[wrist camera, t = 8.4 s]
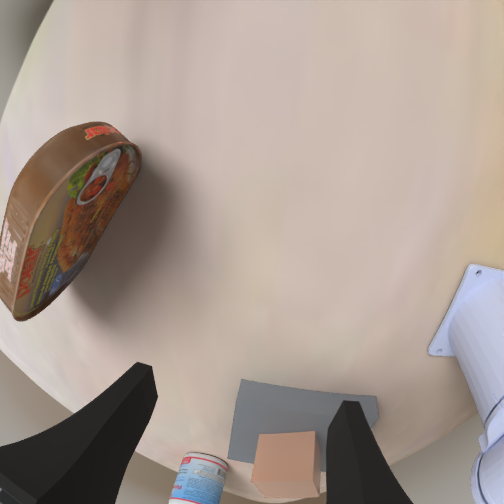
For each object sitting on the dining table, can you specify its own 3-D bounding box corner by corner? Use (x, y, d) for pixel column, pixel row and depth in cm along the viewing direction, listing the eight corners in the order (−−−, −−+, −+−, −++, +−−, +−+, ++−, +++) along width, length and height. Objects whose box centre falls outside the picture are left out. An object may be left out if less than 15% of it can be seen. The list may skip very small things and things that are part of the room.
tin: (75, 284, 23) (14, 345, 15) (51, 260, 22) (-14, 313, 15) (165, 139, 17) (70, 166, 9) (129, 108, 16) (27, 120, 8)
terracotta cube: (315, 430, 22) (312, 480, 18) (321, 453, 24) (319, 496, 20) (259, 433, 24) (250, 481, 19) (272, 456, 26) (265, 497, 21)
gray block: (375, 391, 24) (379, 418, 21) (334, 450, 29) (334, 471, 26) (242, 374, 25) (236, 400, 22) (232, 437, 30) (227, 458, 27)
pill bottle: (182, 446, 32) (156, 518, 22) (228, 457, 32) (209, 532, 22) (186, 463, 35) (165, 527, 25) (228, 472, 34) (212, 539, 24)
